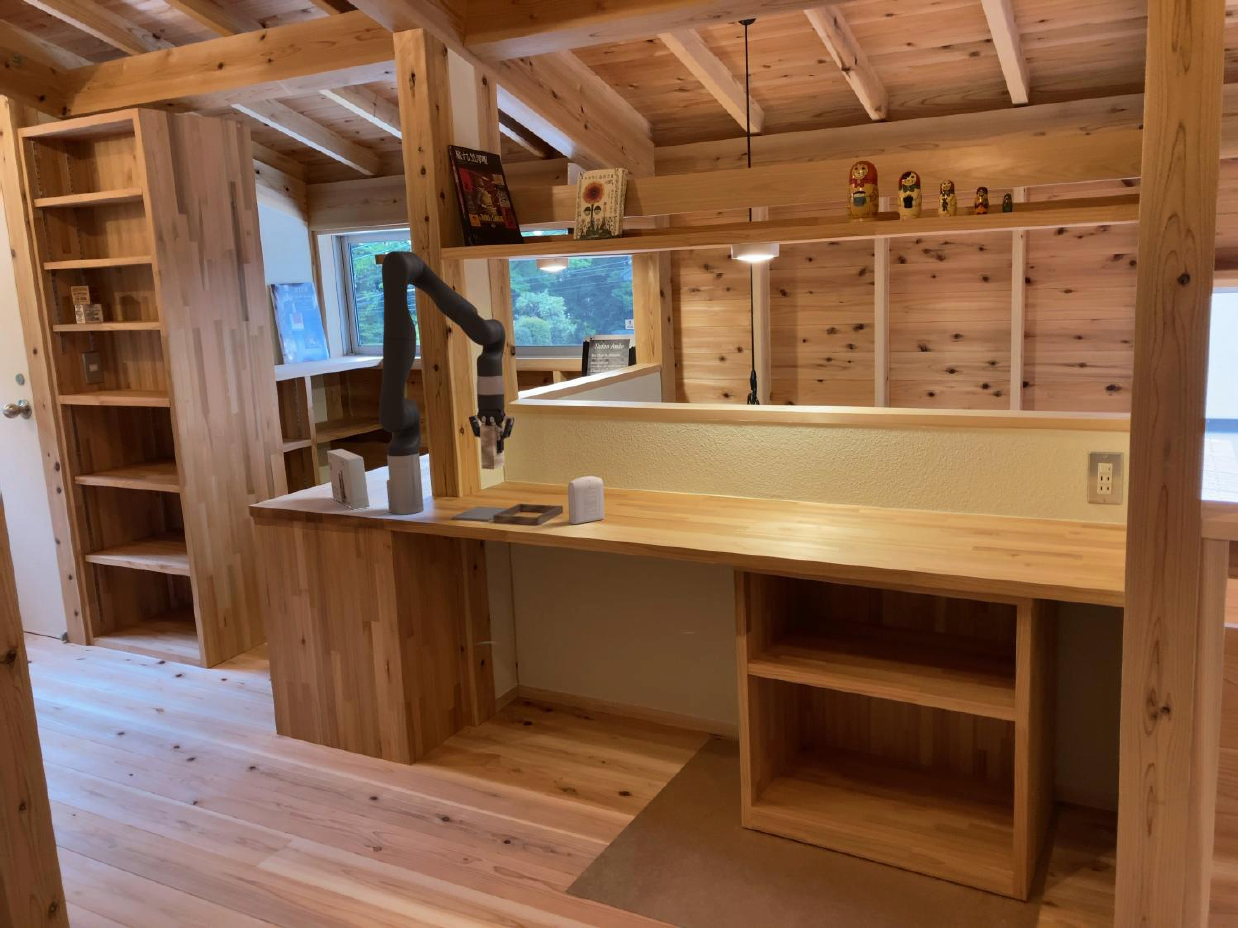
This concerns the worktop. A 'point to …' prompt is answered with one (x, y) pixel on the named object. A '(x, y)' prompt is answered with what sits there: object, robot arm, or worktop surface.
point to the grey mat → (479, 513)
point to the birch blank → (490, 449)
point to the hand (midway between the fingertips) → (492, 452)
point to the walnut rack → (507, 517)
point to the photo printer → (586, 499)
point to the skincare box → (348, 478)
